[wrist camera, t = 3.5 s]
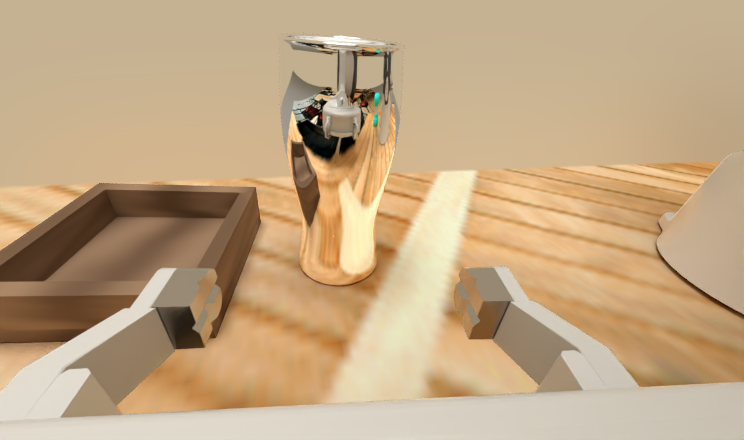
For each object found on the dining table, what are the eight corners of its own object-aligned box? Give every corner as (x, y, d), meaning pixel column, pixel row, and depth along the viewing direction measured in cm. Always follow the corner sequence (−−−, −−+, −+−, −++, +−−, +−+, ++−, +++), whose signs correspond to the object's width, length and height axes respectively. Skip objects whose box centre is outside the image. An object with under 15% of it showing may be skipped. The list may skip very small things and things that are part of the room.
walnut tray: (260, 222, 28) (255, 187, 26) (215, 337, 18) (201, 294, 16) (115, 220, 26) (99, 183, 24) (-22, 343, 16) (-68, 297, 14)
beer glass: (299, 232, 27) (286, 31, 19) (378, 233, 28) (399, 40, 19) (286, 290, 21) (258, 36, 13) (387, 291, 22) (420, 49, 14)
